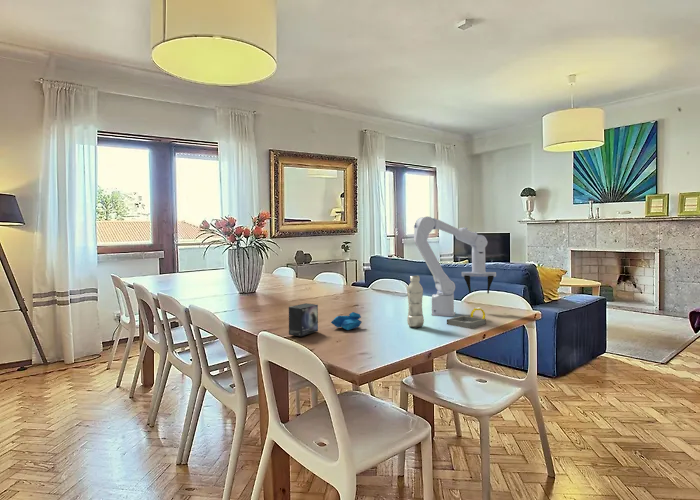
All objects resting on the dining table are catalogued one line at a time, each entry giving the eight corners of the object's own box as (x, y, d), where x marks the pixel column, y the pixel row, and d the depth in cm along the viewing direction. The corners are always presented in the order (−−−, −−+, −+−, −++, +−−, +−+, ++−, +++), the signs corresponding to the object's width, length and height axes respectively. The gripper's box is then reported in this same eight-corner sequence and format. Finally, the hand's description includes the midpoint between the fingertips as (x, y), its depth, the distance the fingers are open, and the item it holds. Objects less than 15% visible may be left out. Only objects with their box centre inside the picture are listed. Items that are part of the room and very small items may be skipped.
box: (470, 329, 164) (470, 323, 164) (446, 325, 172) (446, 319, 172) (485, 325, 171) (485, 319, 171) (462, 321, 179) (462, 315, 179)
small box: (301, 337, 158) (301, 308, 157) (288, 335, 161) (287, 306, 161) (319, 331, 167) (318, 304, 166) (305, 329, 170) (305, 302, 170)
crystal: (358, 306, 175) (330, 308, 170) (366, 318, 167) (336, 320, 163) (356, 321, 178) (328, 324, 173) (363, 334, 170) (334, 337, 166)
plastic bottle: (425, 325, 172) (424, 275, 172) (422, 329, 166) (421, 277, 165) (409, 325, 174) (408, 275, 174) (405, 328, 168) (404, 276, 167)
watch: (482, 321, 179) (482, 306, 179) (486, 322, 176) (486, 307, 176) (469, 322, 178) (469, 307, 178) (473, 323, 175) (473, 308, 175)
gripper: (461, 262, 190) (461, 293, 190) (496, 262, 185) (496, 294, 186) (462, 261, 197) (462, 291, 197) (495, 261, 192) (496, 292, 193)
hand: (478, 292), depth 192 cm, fingers open, 7 cm apart
